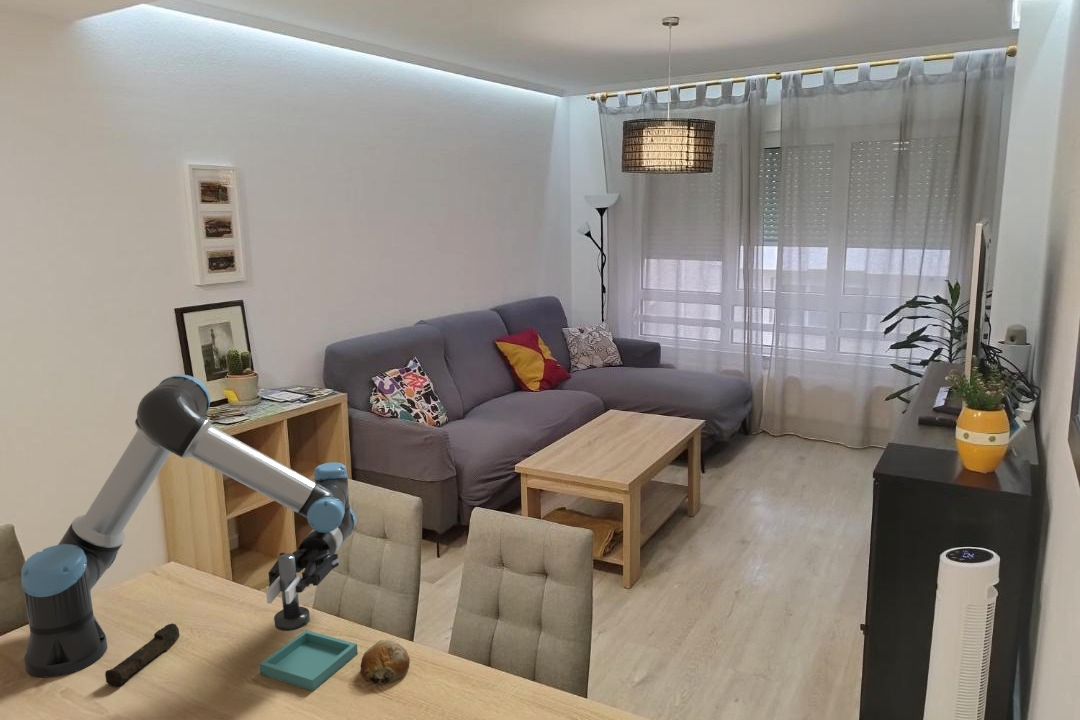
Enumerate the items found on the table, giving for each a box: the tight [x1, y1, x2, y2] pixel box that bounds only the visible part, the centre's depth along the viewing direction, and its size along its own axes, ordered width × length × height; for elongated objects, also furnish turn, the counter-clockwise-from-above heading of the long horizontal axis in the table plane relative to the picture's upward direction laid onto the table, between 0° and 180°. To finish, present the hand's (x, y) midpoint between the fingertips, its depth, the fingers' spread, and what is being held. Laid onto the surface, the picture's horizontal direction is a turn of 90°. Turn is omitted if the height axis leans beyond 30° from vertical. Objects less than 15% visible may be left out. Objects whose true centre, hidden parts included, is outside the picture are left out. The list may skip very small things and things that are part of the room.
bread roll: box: [360, 639, 411, 685], centre depth 161 cm, size 10×10×8 cm
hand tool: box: [104, 622, 180, 688], centre depth 165 cm, size 19×4×5 cm, turn 162°
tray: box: [258, 629, 359, 692], centre depth 163 cm, size 14×14×2 cm
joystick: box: [273, 553, 311, 632], centre depth 159 cm, size 7×7×14 cm
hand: (278, 597), depth 154 cm, fingers closed on joystick, 3 cm apart
